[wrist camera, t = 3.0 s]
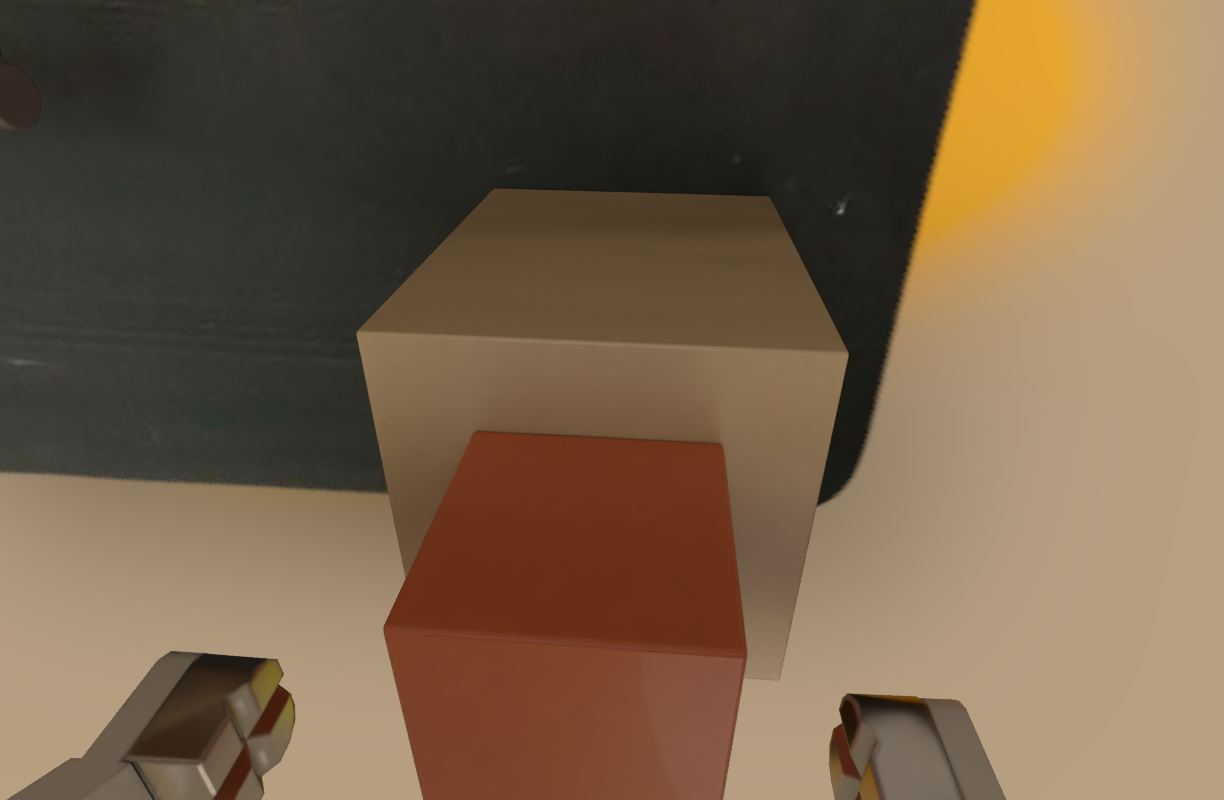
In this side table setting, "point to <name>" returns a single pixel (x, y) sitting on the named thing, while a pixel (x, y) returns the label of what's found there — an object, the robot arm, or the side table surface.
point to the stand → (619, 360)
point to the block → (574, 624)
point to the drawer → (17, 98)
